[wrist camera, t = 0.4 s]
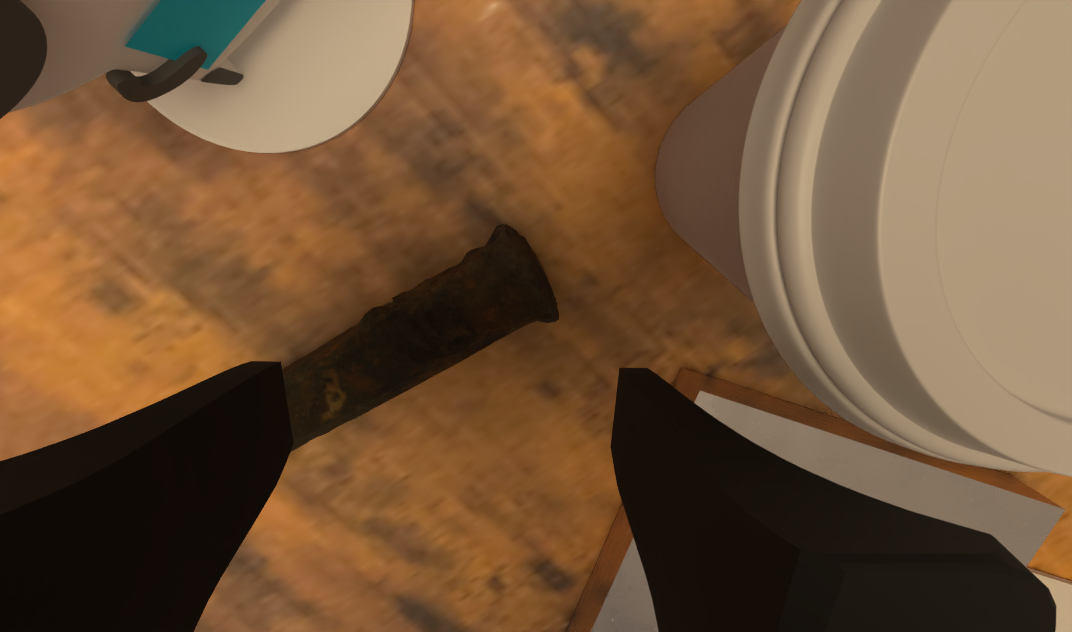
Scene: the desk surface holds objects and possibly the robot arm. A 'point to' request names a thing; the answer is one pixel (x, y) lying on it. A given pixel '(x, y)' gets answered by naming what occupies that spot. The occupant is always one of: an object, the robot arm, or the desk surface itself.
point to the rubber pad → (1059, 598)
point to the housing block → (842, 457)
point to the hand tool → (419, 335)
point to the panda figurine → (213, 61)
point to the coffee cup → (901, 216)
